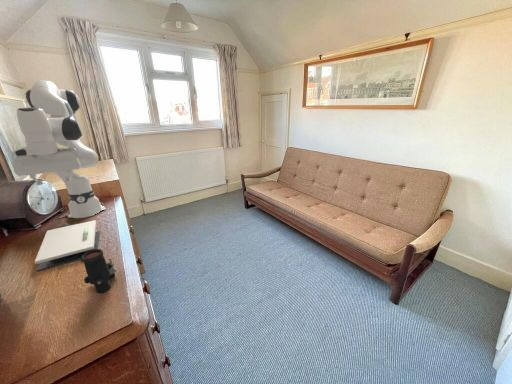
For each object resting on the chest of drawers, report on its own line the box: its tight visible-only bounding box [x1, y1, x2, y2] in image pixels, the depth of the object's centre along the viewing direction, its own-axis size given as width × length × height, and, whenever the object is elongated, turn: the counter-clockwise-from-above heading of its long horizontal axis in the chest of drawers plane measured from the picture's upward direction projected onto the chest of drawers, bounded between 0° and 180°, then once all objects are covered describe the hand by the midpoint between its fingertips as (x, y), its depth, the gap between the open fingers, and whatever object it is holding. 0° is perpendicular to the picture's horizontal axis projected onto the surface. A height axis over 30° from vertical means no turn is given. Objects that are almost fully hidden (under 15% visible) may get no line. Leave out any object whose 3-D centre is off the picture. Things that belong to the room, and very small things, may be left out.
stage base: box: [35, 230, 102, 273], centre depth 94 cm, size 23×19×4 cm
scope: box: [81, 248, 117, 294], centre depth 70 cm, size 8×14×10 cm
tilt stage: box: [34, 219, 97, 265], centre depth 93 cm, size 22×18×3 cm
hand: (55, 182), depth 90 cm, fingers open, 8 cm apart
